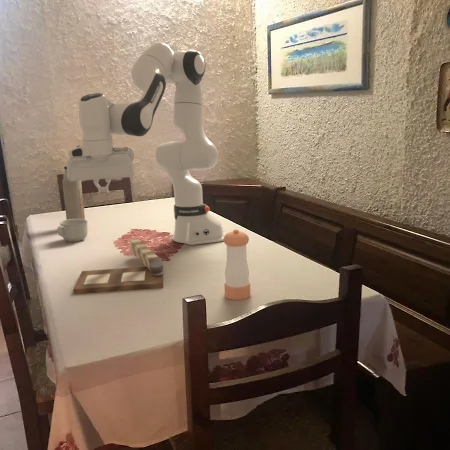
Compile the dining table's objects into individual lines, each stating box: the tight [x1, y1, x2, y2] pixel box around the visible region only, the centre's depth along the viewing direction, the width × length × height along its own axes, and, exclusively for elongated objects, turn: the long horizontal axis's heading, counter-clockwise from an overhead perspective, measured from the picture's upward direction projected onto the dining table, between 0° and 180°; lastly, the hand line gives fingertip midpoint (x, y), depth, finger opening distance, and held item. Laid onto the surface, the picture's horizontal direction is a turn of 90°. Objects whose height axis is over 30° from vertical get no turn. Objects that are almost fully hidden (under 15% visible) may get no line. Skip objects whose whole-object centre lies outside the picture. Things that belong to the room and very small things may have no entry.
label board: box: [72, 265, 164, 295], centre depth 150 cm, size 26×16×2 cm, turn 97°
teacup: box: [56, 219, 89, 243], centre depth 196 cm, size 14×11×8 cm
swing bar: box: [129, 238, 164, 273], centre depth 161 cm, size 28×4×4 cm, turn 25°
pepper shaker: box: [223, 229, 251, 301], centre depth 134 cm, size 7×7×19 cm
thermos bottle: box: [61, 165, 86, 220], centre depth 215 cm, size 8×8×28 cm
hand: (103, 192), depth 151 cm, fingers closed
